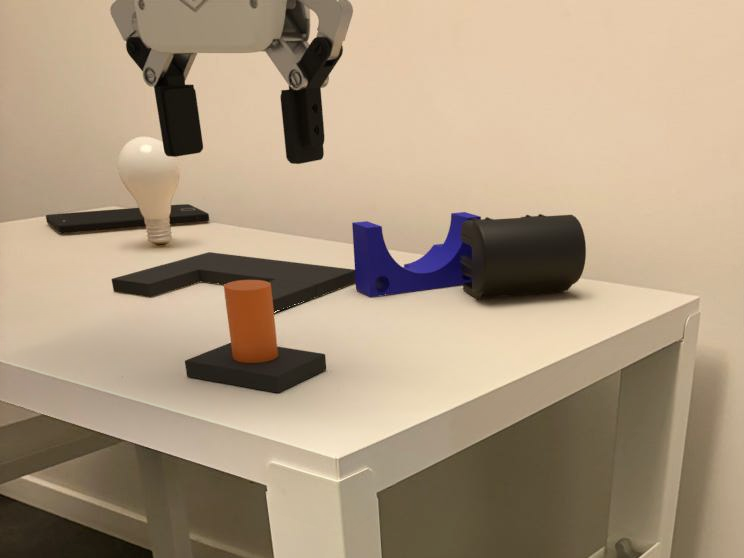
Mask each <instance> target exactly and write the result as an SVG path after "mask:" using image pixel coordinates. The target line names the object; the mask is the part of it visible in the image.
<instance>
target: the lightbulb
mask: <svg viewBox="0 0 744 558" xmlns="http://www.w3.org/2000/svg"><path fill="white" fill-rule="evenodd" d="M117 171H118V175H119V178H120V180H121V182H122V184H123V185H124V187H125V188H126V190H127V191H128V192H129V194H130V195H131V196H132V197H133V199H134V200H135V202H136V203H137V208H139V209H140V212H141V214H142V216H143V217H144V221H145V224H146V226H145V229H146V233H147V234H146V236H147V241H148V242H149V243H151V244H152V245H155V246H156V247H165V246H167V245H168V244H169V243H170V242H171V241H172V240H173V236H172V230H171V229H172V228H171V224H170V223H169V222H170V219H169V216H170V212H171V205H172V200H173V197H174V194H175V192H176V190H177V188H178V186H179V182H180V176H181V169H180V165H179V161H178V159H177V157H171V156H167V155H166V154H165V152H164V147H163V141H162V140H160V139H159V138H156V137H153V136H148V135H140V136H136V137H134V138H132V139H129V140H128V141H127V142H126V143H124V145H123V146H122V148H121V149H120V151H119V154H118V157H117Z"/></svg>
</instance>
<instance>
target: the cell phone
mask: <svg viewBox="0 0 744 558" xmlns="http://www.w3.org/2000/svg"><path fill="white" fill-rule="evenodd" d="M169 219H170V222H169V223H170V225H179V224H191V223H203V222H204V223H205V222H209V221H210V215H209V212H206V211H204V210H203V209H202V210H201V209H200V208H198V207H196V206H194V205H191V204H187V203H186V204H185V203H183V204H171V212H170V216H169ZM45 220H46V223H47V224H48V225H49V226H50V227H51V228H53V229H54V230H55V231H56V232H58V233H59V234H73V233H84V232H96V231H109V230H119V229H132V228H133V229H134V228H142V227H145V228H146V224H145V221H144V217H143V216H142V214H141V212H140V209H139V207H129V208H117V209H104V210H103V209H102V210H90V211H77V212H76V211H75V212H65V213H64V212H63V213H51V214H46V215H45Z"/></svg>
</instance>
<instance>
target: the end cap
mask: <svg viewBox="0 0 744 558" xmlns="http://www.w3.org/2000/svg"><path fill="white" fill-rule="evenodd" d="M460 237H461V241H462V242H464V243H466V244H468V245H470V246H471V248H472V259H471V258H469V257H467V256H461V260H460V263H461V269H462V272H463V273H464V274H465V275H467V276H468V277H470V278H472V282H465V283H463V285H462V290H463V291H464V292H466V293H467V294H469V295H470V296H471V297H473V298H475V299H478V300H479V299H489V298H501V297H510V296H512V297H513V296H522V295H535V294H544V293H557V292H567V291H569V290H570V288H571V287H572V286H573V285H575V284H576V283H578V282H579V280H581V277H582V275H583V273H584V269H585V264H586V258H587V247H586V246H587V245H586V244H587V243H586V237H585V233H584V228H583V226H582V224H581V222H580V220H579V219H578V218H577V217H576V216H575V215H573V214H560V215H558V214H557V215H544V214H542V213H539V214H538V215H529V214H526V215H525V216H520V217H511V218H494V219H493V218H490V217H488V216H487V217H485V218H481V219H480V220H477V219H475V218H473V219H472V220H467V221H465V222H463V224H462V226H461V234H460Z"/></svg>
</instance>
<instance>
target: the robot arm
mask: <svg viewBox="0 0 744 558" xmlns="http://www.w3.org/2000/svg"><path fill="white" fill-rule="evenodd" d="M353 7H354V6H353V5H352V3H351V2H350V0H115V1H114V2H113V3H112V4H111V6H110V9H109V11H110V15H111V18H112V20H113V23H114V24H115V26H116V28H117V29H118V32H119V33H120V35H121V38H122V40H123V41H124V42H125V49H126V51H127V54H128V55H129V57H130V58H131V59H132V61H133V62H134V63H135V64H136V66H137V67H138V68H139V69H140V71H142V78H143V81H144V82H145V84H146V85H147V86H149V87H151V88H152V87H153V89H154V90H153V91H154V95H155V96H154V97H155V102H156V108H157V115H158V122H159V128H160V134H161V141H162V142H163V147H164V152H165V154H166V155H167V156H171V157H176V158H177V157H183V156H189V155H195V154H200V153H201V152H202V151H203V149H204V143H203V142H204V141H203V135H202V129H201V128H202V127H201V121H200V113H199V105H198V100H197V92H196V88H195V86H194V84H186V80H187V79H188V75H189V74H190V71H191V69H192V67H193V64H194V62H195V59H196V57H197V56H198V54H252V53H259V52H264V53H266V54H267V56H268V58H269V59H270V61H271V62H272V63H273V65H274V67H276V69H277V70H278V72H279V73H280V75H281V76H282V78H283V79H284V81H285V82H286V83H287V85H288V89H283V90H282V89H281V90H280V105H281V107H280V109H281V116H282V117H281V118H282V125H283V126H282V128H283V138H284V148H285V157H286V160H287V162H289V163H290V164H292V165H294V164H295V165H301V164H307V163H311V162H316V161H321V160H323V158H324V155H325V154H324V153H325V151H324V143H325V126H324V125H325V124H324V114H323V113H324V112H323V101H322V100H323V99H322V89H324V88H325V87H327V86H328V84H329V80H330V74H331V72H332V71H333V70H334V69H335V67H336V65H337V64H338V62H339V61H340V59H341V57H342V56H343V52H344V48H343V47H344V46H343V43H344V42H345V40H346V38H347V37H346V36H347V33H348V30H349V27H350V24H351V22H352V21H351V20H352V17H353V14H354V9H353ZM311 11H313V12H314V13H315V14H316V16H317V19H318V25H317V29H316V31H317V33H316V37H314V38H313V39H312V40H311V42H309V39H310V35H311Z"/></svg>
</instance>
